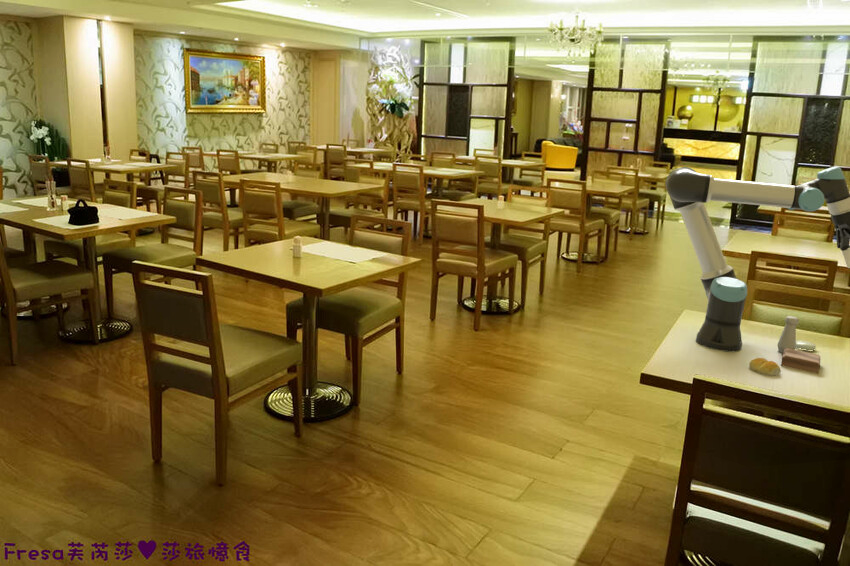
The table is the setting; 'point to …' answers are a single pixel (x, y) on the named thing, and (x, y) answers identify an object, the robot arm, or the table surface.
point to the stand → (801, 360)
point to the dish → (805, 345)
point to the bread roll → (765, 367)
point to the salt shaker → (788, 334)
